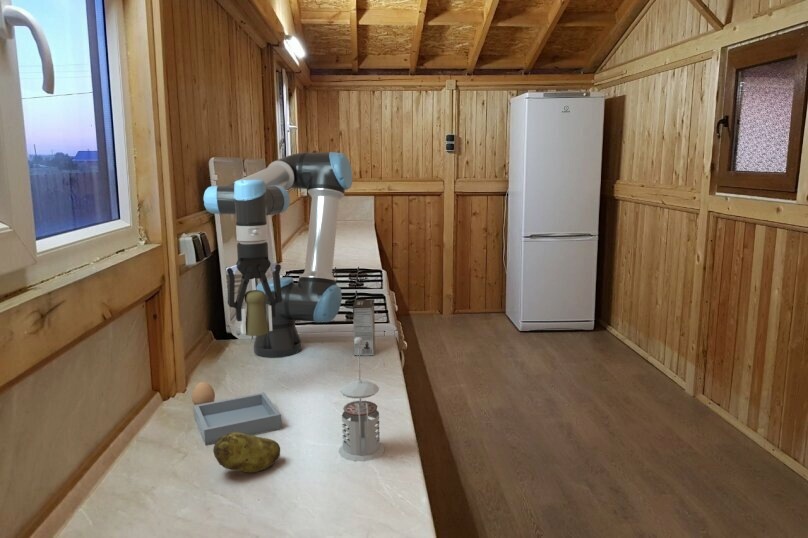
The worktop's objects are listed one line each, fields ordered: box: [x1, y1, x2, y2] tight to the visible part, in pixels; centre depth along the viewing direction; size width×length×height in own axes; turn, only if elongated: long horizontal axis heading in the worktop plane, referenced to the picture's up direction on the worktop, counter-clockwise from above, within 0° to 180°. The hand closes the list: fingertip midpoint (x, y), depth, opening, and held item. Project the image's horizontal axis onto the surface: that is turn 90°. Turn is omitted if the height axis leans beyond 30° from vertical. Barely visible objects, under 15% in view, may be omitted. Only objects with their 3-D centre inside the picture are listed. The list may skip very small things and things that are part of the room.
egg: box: [191, 381, 216, 406], centre depth 153 cm, size 5×5×7 cm
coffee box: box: [352, 299, 376, 356], centre depth 194 cm, size 9×6×16 cm
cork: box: [244, 289, 269, 337], centre depth 157 cm, size 6×6×11 cm
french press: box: [338, 337, 385, 462], centre depth 128 cm, size 10×12×25 cm
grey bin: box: [193, 392, 283, 446], centre depth 144 cm, size 17×15×4 cm
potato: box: [212, 433, 281, 473], centre depth 123 cm, size 8×13×8 cm, turn 104°
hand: (256, 331), depth 158 cm, fingers closed on cork, 6 cm apart
